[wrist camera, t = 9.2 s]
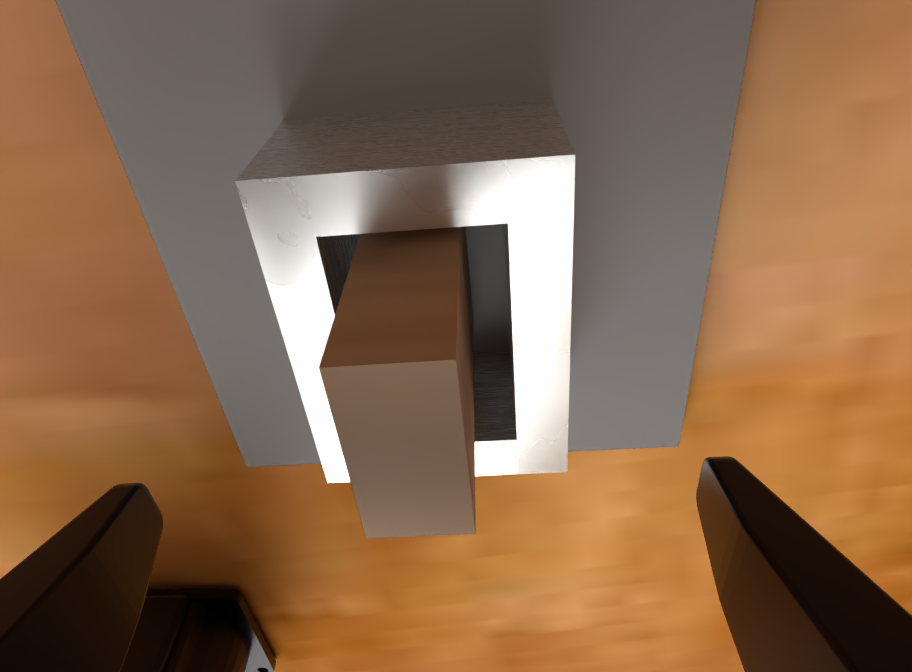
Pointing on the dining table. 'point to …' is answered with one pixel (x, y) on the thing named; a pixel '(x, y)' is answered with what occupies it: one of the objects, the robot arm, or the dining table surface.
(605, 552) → the dining table surface
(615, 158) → the slate board
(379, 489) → the wooden block
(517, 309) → the white hollow frame
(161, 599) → the robot arm
